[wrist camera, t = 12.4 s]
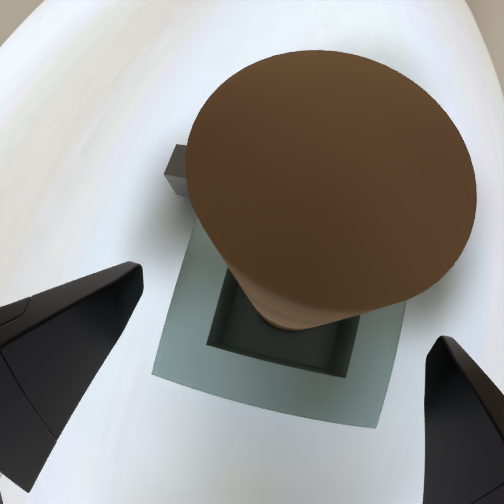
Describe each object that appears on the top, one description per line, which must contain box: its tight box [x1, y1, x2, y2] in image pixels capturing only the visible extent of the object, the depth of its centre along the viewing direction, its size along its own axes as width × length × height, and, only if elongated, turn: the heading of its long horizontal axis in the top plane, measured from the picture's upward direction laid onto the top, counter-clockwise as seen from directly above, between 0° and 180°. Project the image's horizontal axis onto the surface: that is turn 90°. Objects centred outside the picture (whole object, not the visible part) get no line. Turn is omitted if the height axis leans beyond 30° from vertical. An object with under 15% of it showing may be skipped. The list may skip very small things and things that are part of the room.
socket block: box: [152, 217, 406, 429], centre depth 14 cm, size 9×9×5 cm
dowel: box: [185, 50, 477, 332], centre depth 10 cm, size 4×4×13 cm
